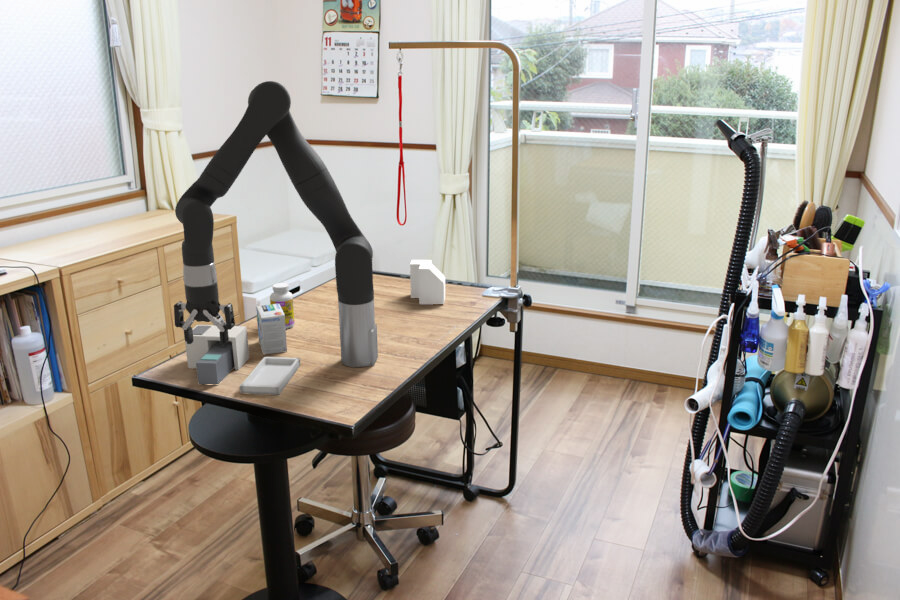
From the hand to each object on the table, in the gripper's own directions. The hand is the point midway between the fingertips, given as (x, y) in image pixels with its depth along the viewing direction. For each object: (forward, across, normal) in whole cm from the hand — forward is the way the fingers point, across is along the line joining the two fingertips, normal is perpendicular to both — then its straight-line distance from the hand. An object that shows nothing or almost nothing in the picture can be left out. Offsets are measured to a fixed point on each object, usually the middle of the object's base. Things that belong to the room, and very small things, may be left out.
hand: (207, 343), depth 183 cm
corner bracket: (+10, -46, -69) cm, 83 cm away
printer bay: (+10, +2, -11) cm, 15 cm away
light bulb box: (+10, -8, -23) cm, 27 cm away
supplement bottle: (+10, -6, -39) cm, 41 cm away
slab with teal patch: (+10, 0, -4) cm, 11 cm away
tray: (+10, -15, -2) cm, 18 cm away
